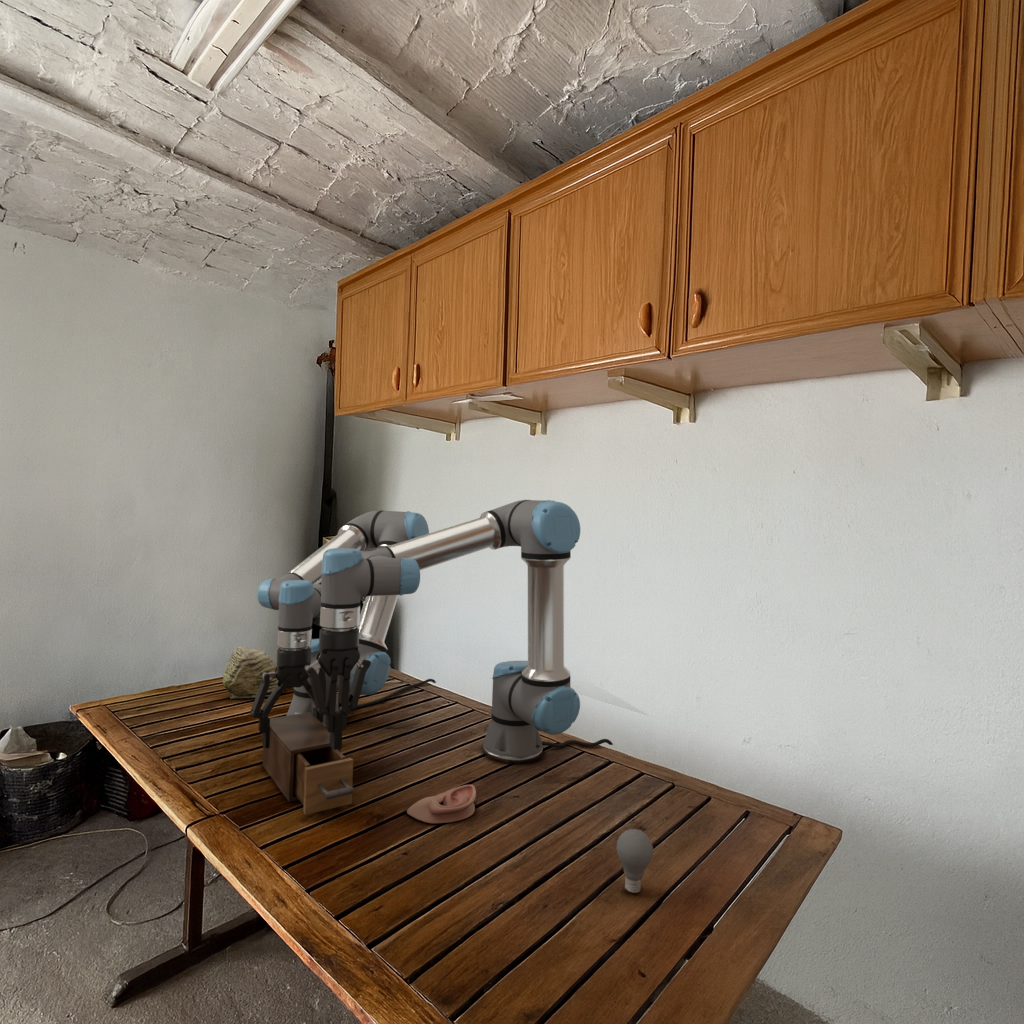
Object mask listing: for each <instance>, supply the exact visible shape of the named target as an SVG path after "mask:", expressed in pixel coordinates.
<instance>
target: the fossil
mask: <svg viewBox="0 0 1024 1024" xmlns="http://www.w3.org/2000/svg"><path fill="white" fill-rule="evenodd" d="M276 668H277V664H276V663H275V662H274V660H273V659H272V658H271V657H270V656H269V655H268V654H267V653H266V652H265V650H264V649H263V648H260V647H258V648H251V647H247V646H246V647H245V646H238V647H237V648H236V649H235V650H233V651H232V653H231V656H230V657H229V659H228V660H227V663H226V666H225V668H224V671H223V675H222V676H223V677H222V685H223V687H224V688H225V690H226V691H228V693H229V698H230V699H250V698H256V695H257V693H258V690H259V687H260V685H261V682H262V673H263V672H267V673H270V672H275V670H276ZM277 682H278V680H277V678H276V677H274V678H273V680H272V682H270V685H269V688H268V691H267V694H266V696H265V697H269V696H270V694H271V693H272V691H273V690H274V688H275V685H276V684H277ZM286 689H287V688H286ZM286 689H285V691H286Z"/></svg>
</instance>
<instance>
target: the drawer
mask: <svg viewBox="0 0 1024 1024" xmlns="http://www.w3.org/2000/svg"><path fill="white" fill-rule="evenodd" d="M353 778H354V759H353V758H352V757H347V758H346V756H345V755H344V754H343V753H342V752H341V753H340V752H339V751H338V750H334V749H333V748H332V747H331V746H330V747H325V748H320V749H315V750H310V751H305V752H300V753H295V754H294V781H293V792H294V794H295V795H296V796H297V798H298V799H299V800H298V801H299V802H300V803H301V804H302V806H303V808H302V809H303V810H302V811H303V815H304V816H308V815H311V814H315V813H319V812H323V811H327V810H331V809H335V808H339V807H342V806H346V805H350V804H353V793H354V786H353V781H354V780H353Z"/></svg>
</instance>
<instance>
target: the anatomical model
mask: <svg viewBox="0 0 1024 1024" xmlns="http://www.w3.org/2000/svg"><path fill="white" fill-rule="evenodd" d="M476 798H477V790H476V787H475V785H473V784H464V785H460V786H458V787H454V788H451V789H449V790H447V791H443V792H442V793H440V794H437V795H434V796H433V795H432V796H427V797H424V798H421V799H419V800H417V801H416V802H415V803H413V804H412V805H411V806H409V807H408V809H407V810H406V814H407V815H409V816H410V817H412V818H414V819H415V820H417V821H421V822H423V823H427V824H445V823H454V822H458V821H462V820H465V819H467V818H469V817H471V816H472V815H473V814H474V813H475V809H476V807H475V806H476V805H475V803H474V802H475V800H476Z"/></svg>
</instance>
